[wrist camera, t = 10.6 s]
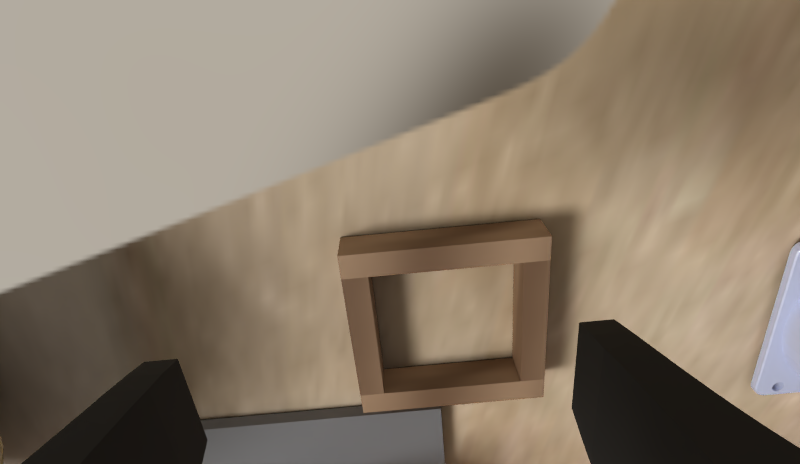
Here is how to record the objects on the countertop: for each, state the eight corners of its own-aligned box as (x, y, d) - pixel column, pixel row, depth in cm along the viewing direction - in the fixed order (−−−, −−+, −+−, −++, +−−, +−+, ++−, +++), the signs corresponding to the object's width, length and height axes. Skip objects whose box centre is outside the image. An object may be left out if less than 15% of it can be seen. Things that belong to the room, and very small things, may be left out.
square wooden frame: (540, 218, 19) (551, 236, 18) (533, 372, 23) (543, 396, 21) (340, 237, 19) (337, 256, 18) (364, 387, 23) (363, 412, 21)
